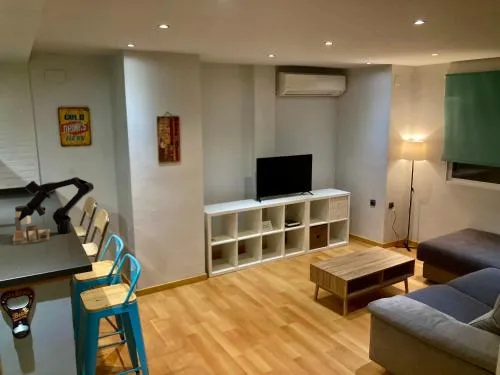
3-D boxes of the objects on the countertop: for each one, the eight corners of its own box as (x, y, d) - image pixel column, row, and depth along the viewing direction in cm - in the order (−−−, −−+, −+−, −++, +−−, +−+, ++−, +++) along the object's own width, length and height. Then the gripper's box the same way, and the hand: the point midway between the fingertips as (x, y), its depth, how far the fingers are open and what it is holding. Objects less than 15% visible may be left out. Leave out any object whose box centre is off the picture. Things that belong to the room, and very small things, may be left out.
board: (49, 230, 268) (49, 228, 268) (49, 240, 246) (48, 238, 246) (17, 234, 261) (17, 232, 261) (13, 244, 238) (13, 243, 238)
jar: (14, 224, 286) (12, 207, 284) (25, 221, 293) (23, 205, 291) (21, 225, 282) (19, 208, 280) (33, 222, 289) (31, 206, 287)
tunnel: (39, 235, 252) (37, 225, 251) (38, 239, 244) (37, 228, 243) (28, 237, 249) (26, 226, 248) (27, 240, 242) (25, 229, 241)
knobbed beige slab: (26, 231, 261) (24, 215, 260) (24, 239, 243) (22, 222, 242) (15, 232, 259) (13, 216, 257) (12, 241, 241) (10, 224, 239)
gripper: (47, 210, 253) (29, 230, 251) (51, 204, 270) (34, 223, 268) (31, 198, 249) (13, 218, 247) (36, 193, 266) (18, 212, 264)
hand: (20, 218), depth 257 cm, fingers open, 9 cm apart
